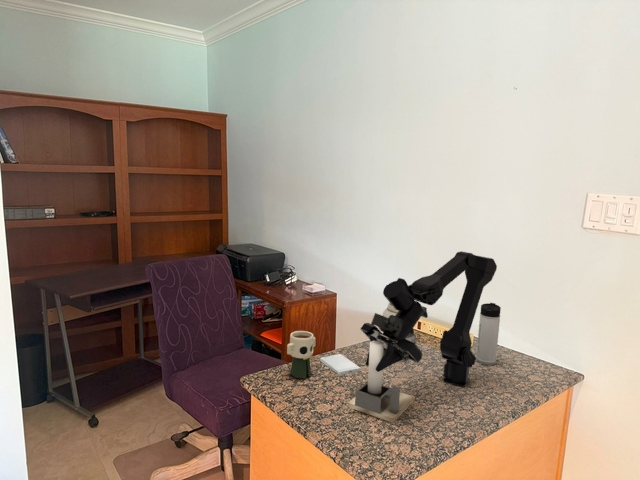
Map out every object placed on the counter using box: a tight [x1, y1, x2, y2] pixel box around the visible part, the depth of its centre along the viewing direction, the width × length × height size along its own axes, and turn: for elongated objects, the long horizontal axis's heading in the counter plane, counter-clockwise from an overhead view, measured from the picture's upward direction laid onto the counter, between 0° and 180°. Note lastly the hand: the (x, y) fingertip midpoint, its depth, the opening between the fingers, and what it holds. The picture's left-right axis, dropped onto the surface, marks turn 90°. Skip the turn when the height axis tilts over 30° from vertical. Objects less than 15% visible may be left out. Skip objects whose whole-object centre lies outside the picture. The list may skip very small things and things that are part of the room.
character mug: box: [286, 330, 316, 379], centre depth 135 cm, size 11×7×13 cm, turn 132°
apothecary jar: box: [382, 302, 418, 360], centre depth 155 cm, size 12×12×18 cm
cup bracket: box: [354, 380, 401, 414], centre depth 116 cm, size 10×7×6 cm
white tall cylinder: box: [367, 341, 385, 394], centre depth 116 cm, size 4×4×13 cm
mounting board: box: [347, 391, 415, 424], centre depth 120 cm, size 13×14×1 cm
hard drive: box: [319, 353, 362, 376], centre depth 144 cm, size 2×8×12 cm
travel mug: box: [475, 302, 502, 366], centre depth 150 cm, size 6×7×20 cm
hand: (371, 368), depth 115 cm, fingers closed on white tall cylinder, 4 cm apart
